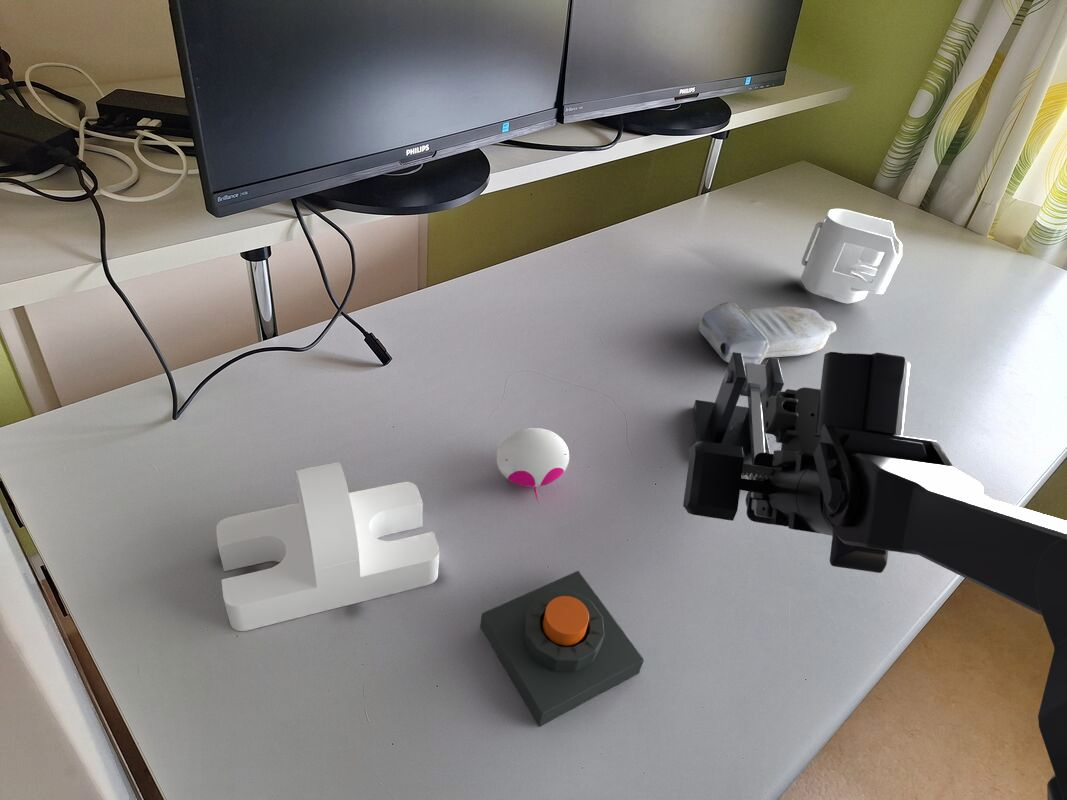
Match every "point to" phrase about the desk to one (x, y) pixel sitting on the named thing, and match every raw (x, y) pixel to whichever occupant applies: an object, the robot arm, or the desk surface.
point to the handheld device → (764, 331)
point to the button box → (559, 650)
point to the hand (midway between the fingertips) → (767, 488)
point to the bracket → (734, 408)
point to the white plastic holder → (850, 256)
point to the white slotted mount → (324, 550)
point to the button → (565, 620)
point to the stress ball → (533, 457)
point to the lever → (755, 406)
